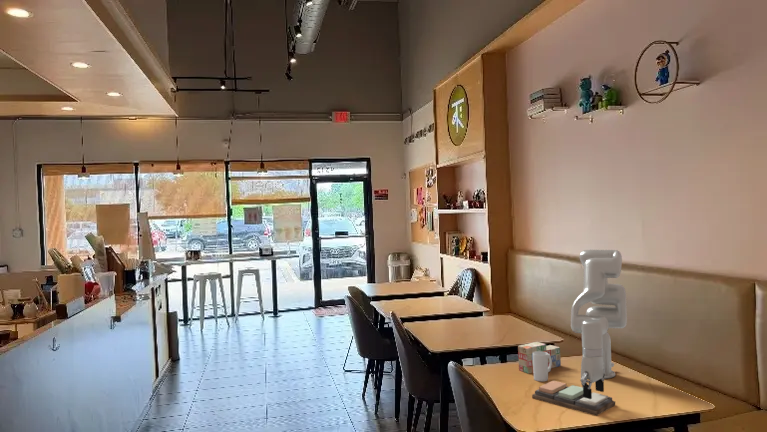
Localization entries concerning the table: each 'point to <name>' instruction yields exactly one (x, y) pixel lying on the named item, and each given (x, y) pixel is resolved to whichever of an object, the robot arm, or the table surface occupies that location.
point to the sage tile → (571, 392)
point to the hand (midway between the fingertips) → (593, 394)
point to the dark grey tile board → (574, 402)
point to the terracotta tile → (552, 387)
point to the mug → (541, 365)
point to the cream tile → (594, 399)
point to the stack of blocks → (527, 355)
